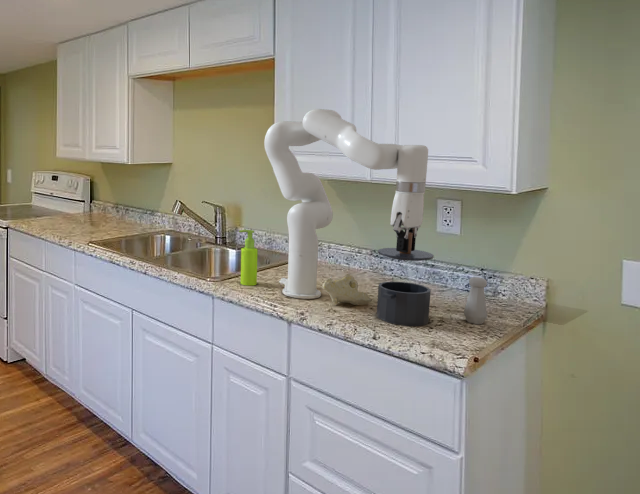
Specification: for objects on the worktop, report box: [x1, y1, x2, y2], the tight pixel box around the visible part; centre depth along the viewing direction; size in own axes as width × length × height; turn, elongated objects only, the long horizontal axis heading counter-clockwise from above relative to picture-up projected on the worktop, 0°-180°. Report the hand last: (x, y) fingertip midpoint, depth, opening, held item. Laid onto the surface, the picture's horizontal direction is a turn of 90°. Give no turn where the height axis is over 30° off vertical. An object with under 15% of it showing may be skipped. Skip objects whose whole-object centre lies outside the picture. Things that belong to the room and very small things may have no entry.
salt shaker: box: [463, 276, 488, 325], centre depth 159 cm, size 6×6×13 cm
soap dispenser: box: [238, 229, 259, 287], centre depth 202 cm, size 6×7×20 cm
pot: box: [376, 281, 432, 327], centre depth 162 cm, size 14×19×10 cm
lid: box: [377, 232, 435, 262], centre depth 160 cm, size 15×15×7 cm
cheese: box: [321, 273, 372, 306], centre depth 177 cm, size 15×7×15 cm
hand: (405, 250), depth 160 cm, fingers closed on lid, 3 cm apart
